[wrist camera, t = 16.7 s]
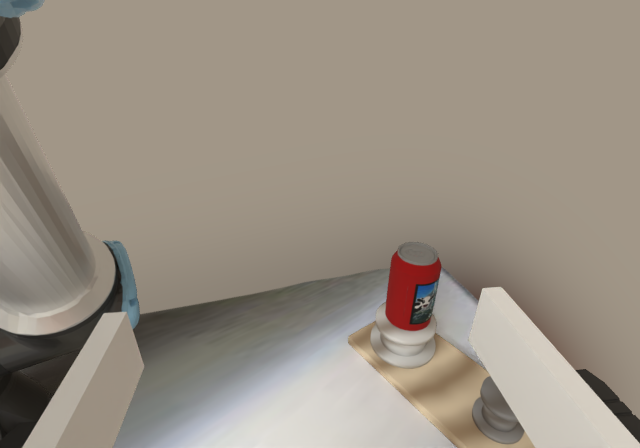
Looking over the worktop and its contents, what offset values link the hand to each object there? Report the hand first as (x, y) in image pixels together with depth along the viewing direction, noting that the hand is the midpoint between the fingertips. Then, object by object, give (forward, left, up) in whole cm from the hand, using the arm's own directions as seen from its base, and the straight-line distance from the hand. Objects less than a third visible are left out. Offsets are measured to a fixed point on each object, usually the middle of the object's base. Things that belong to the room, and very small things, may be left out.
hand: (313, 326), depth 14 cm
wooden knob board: (-9, +29, -35) cm, 47 cm away
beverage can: (-17, +29, -29) cm, 44 cm away
